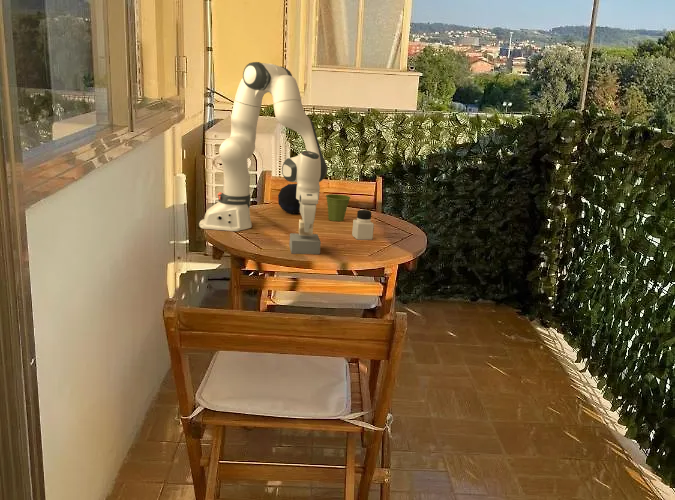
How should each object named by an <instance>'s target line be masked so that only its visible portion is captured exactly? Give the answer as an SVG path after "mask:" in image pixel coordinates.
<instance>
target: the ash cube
mask: <svg viewBox="0 0 675 500" xmlns="http://www.w3.org/2000/svg"><path fill="white" fill-rule="evenodd" d="M313 232H314V223H313V224H310V227H309V232H304V221H303V220H302V218H301V219H300V218H299V221H298V234H299V235H310V236H313V234H314V233H313Z"/></svg>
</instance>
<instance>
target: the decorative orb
mask: <svg viewBox="0 0 675 500" xmlns="http://www.w3.org/2000/svg"><path fill="white" fill-rule="evenodd" d="M296 190H297V183H288V184H286V185H285V186H283V187H282V188H281V189H280V190H279V192H278V196H277V197H278V199H277V201H278V205H279V206H280V208H281V209H282V211H283V212H286V213H288V214H290V215H294V214H299V213H300V203H299V200H298V199H296Z"/></svg>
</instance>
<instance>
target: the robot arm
mask: <svg viewBox="0 0 675 500" xmlns="http://www.w3.org/2000/svg"><path fill="white" fill-rule="evenodd" d="M267 93H269V94H270V95H271V96H272V97H271V98H272V103H273V104H272V105H273V111H274V115H275V120H276V121H277V122H278V123H279V124H280V125H282V126H283V127H285V128H287V129H289V130H292V131H294V132H296V133H298V134H299V135H300V136H301V138H302V139H303V142H304V145H305V150H304V151H301V152H300V153H299V154H298V155H296V156H293V157H289V158H285V160H284V161H283V164H282V167H281V174H282V177H283V178H284V179H285V180H286V181H287V182H291V183H296V184H297V190H296V199H298V200H299V203H300V212H299V213H300V216H301V219H302V220H303V221H304V232H309V227H310V224H313V225H314V223H315V218H316V212H317V205H318V204H319V200H320V188H321V187H320V182H322V181H323V180H324V178H326V176H327V173H328V165H327V163H326V161H325V158H324V156H323V152H322V149H321V146H320V143H319V139H318V136H317V132H316V128H315V125H314V123H313V121H312V119H311V118H310V116H308V114H307V113H306V112H305V109H304V107H303V104H302V103H303V102H302V97H301V91H300V88H299V85H298V82H297V80H296V78H295V77H294V76H293V74H292V72H291V71H290V70H289V69H287V67H283V66H279V65H276V64H274V63H264V62H260V61H253V62H249V63H248V64H246V65H245V67H244V69H243V71H242V78H241V80H240V81H239V83H238V86H237V89H236V92H235V95H234V96H235V97H234V99H233V100H234V101H233V106H232V110H231V114H230V125H231V126H230V135H229V137H228V138H225V139H224V140H223V141H222V142H221V144H220V146H219V149H218V153H219V156H220V159H221V165H222V172H223V173H222V174H223V188H222V189H223V192H218V193H217V197H218V199H217V200H218V202H216V203H215V204H213V205H212V206H210V207H209V208H207V210H206V212H205V214H204V218H203V219H201V220H200V221H199V223H198V226H199V228H201V229H204V230H205V229H206V230H217V231H228V232H229V231H230V232H239V231H242V230H247V229H251V228H252V227H253V224H252V220H251V212H250V210H251V209H250V207H251V194H250V191H251V190H250V186H251V185H250V184H251V182H250V181H251V176H250V173H249V167H248V159H249V158H251V157H252V155H253V154H254V153H255V149H256V139H257V137H256V136H257V127H258V121H259V117H260V112H261V107H262V103H263V99H264V95H266V94H267Z"/></svg>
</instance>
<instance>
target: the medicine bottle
mask: <svg viewBox="0 0 675 500" xmlns="http://www.w3.org/2000/svg"><path fill="white" fill-rule="evenodd" d="M374 229H375V223H373V222H372V211H370V210H368V209H359V210H357V215H356V219H353V222H352V231H351V232H352V233H351V235H352V237H353V238H355V239H356V240H358V241H359V240H360V241H361V240H362V241H363V240H366V241H367V240H368V241H369V240H370V241H371V240H373V238H374Z"/></svg>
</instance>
